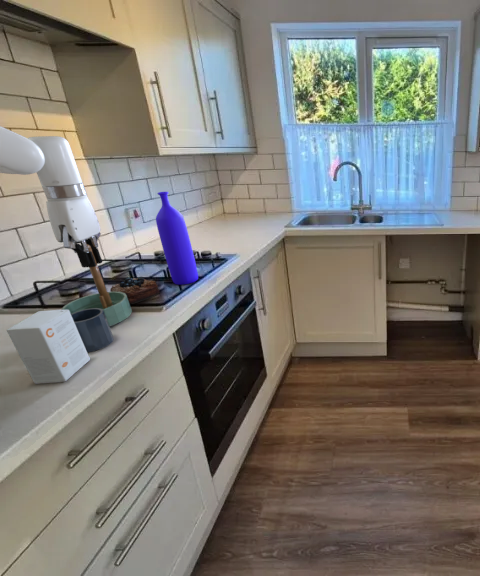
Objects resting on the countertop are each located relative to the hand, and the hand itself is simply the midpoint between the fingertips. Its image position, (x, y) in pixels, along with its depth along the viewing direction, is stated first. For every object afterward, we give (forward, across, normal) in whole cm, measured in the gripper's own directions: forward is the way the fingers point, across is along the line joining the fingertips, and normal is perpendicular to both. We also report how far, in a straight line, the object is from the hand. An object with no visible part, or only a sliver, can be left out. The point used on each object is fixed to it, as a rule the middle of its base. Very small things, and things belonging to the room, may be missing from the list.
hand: (92, 264), depth 93 cm
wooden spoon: (+13, 0, 0) cm, 13 cm away
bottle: (+16, -27, +9) cm, 33 cm away
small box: (+16, +24, +3) cm, 29 cm away
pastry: (+16, -16, -2) cm, 23 cm away
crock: (+16, +13, +3) cm, 21 cm away
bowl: (+16, 0, -3) cm, 16 cm away
